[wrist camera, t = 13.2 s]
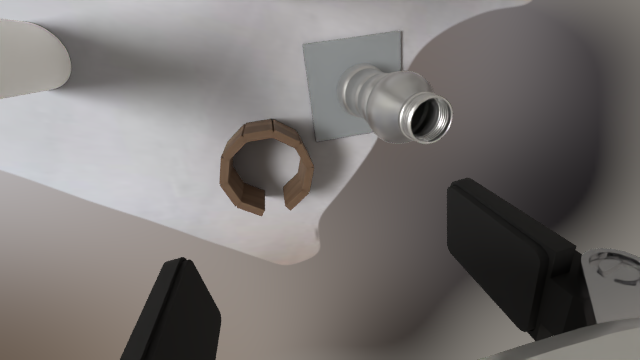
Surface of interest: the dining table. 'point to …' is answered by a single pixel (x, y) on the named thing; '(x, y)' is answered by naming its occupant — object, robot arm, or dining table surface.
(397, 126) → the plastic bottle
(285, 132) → the ring holder
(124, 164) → the dining table surface
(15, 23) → the cylindrical container
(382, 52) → the rubber mat
